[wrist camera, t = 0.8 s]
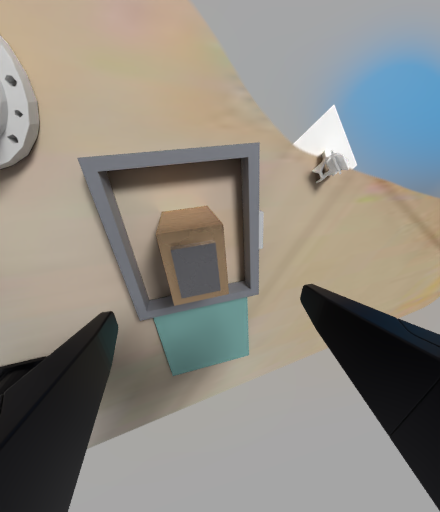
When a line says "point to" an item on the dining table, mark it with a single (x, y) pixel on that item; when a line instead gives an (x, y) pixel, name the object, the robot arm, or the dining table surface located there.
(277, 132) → the dining table surface
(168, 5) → the dining table surface
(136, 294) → the grey tapered frame
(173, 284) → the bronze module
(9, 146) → the mechanical component
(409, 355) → the robot arm
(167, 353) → the service mat
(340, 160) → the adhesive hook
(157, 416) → the dining table surface
